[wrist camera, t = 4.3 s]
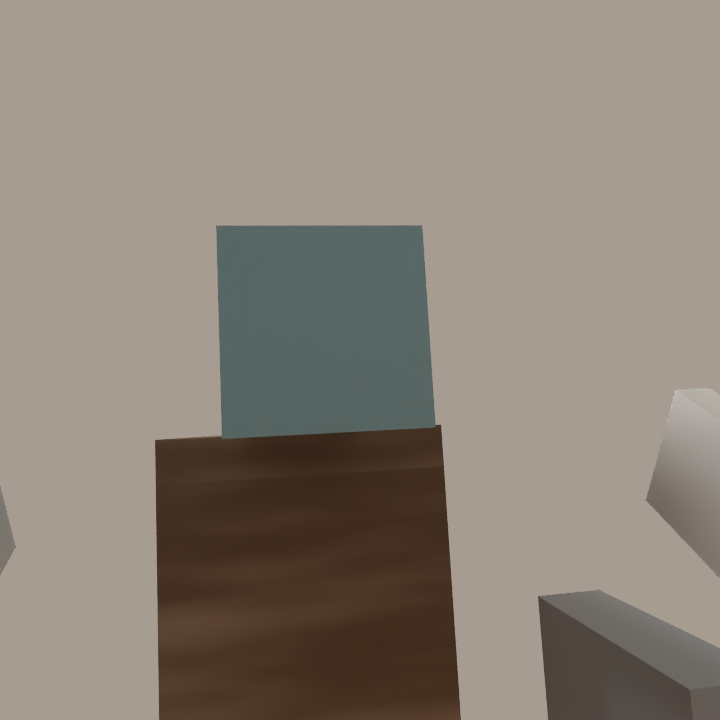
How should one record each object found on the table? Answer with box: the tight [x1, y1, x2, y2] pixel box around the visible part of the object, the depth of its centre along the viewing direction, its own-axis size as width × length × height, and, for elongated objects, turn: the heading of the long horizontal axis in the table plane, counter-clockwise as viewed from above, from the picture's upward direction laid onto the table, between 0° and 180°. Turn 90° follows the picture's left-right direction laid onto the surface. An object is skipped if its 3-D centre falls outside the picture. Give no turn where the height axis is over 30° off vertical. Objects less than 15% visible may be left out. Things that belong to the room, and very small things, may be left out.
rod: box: [216, 226, 435, 439], centre depth 23 cm, size 24×4×4 cm, turn 9°
